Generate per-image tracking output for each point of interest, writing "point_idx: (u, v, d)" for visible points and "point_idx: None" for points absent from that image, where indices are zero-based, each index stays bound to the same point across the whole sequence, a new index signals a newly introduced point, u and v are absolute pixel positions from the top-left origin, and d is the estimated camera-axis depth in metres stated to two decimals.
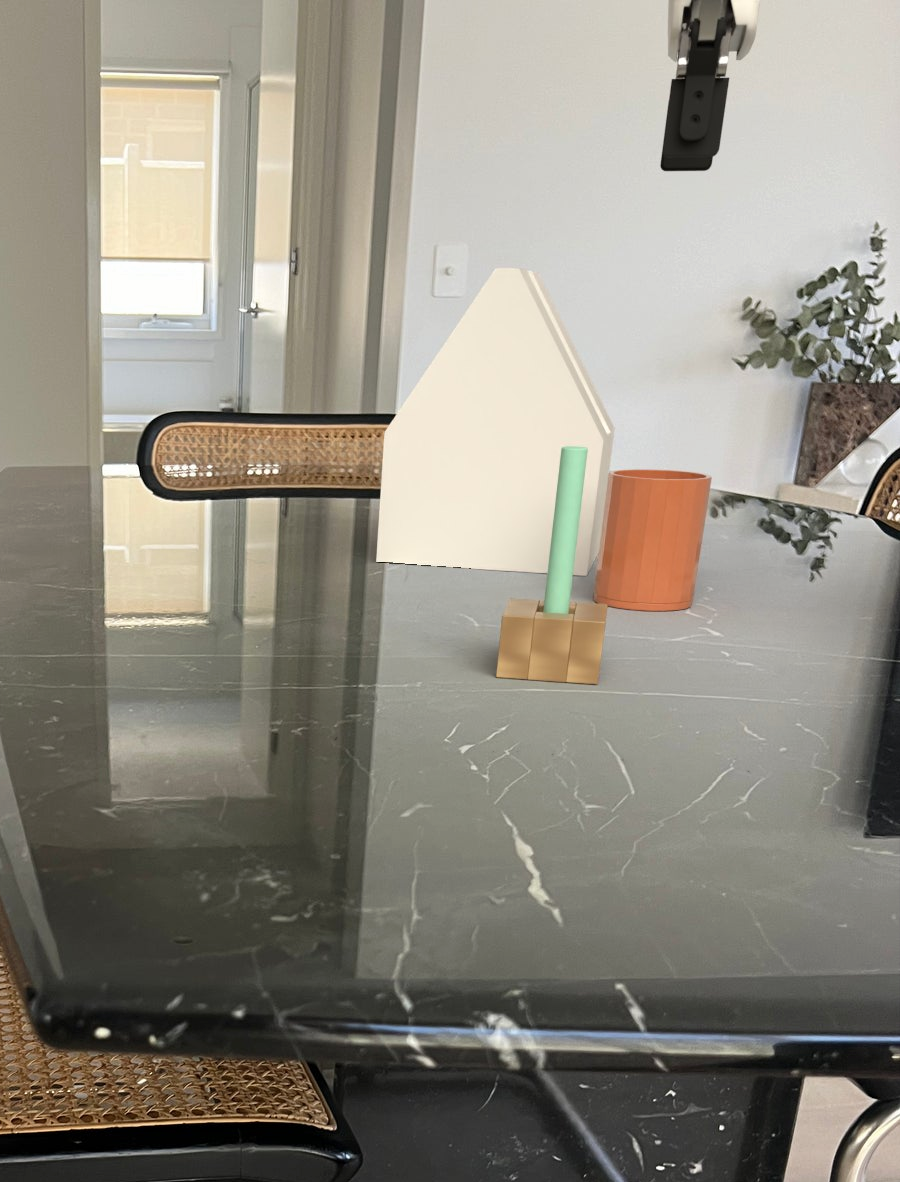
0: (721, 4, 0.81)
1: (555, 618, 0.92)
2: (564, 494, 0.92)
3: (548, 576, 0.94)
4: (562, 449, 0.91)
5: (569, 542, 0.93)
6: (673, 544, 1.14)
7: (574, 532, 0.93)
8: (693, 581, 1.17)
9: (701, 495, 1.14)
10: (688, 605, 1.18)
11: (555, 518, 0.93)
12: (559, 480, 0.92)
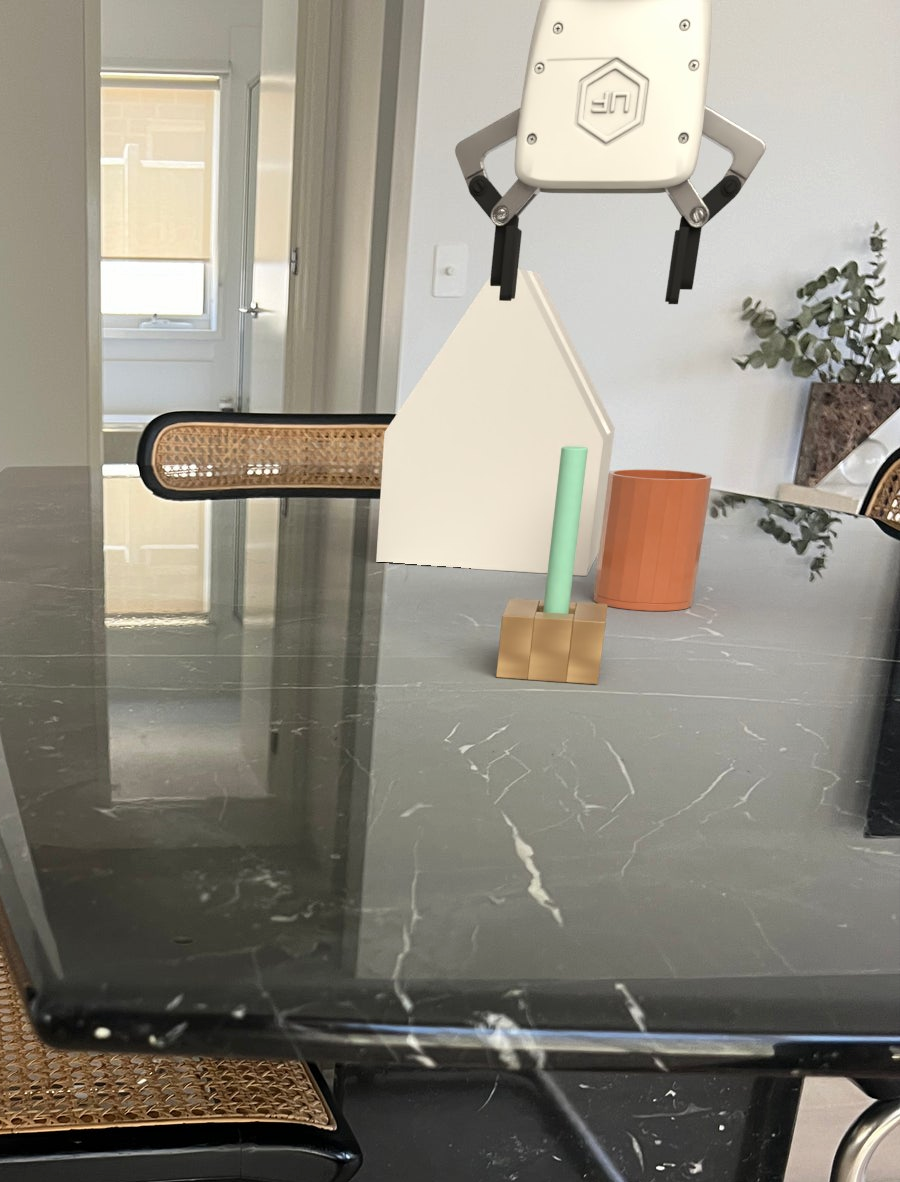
0: (460, 167, 0.86)
1: (555, 618, 0.92)
2: (564, 494, 0.92)
3: (548, 576, 0.94)
4: (562, 449, 0.91)
5: (569, 542, 0.93)
6: (673, 544, 1.14)
7: (574, 532, 0.93)
8: (693, 581, 1.17)
9: (701, 495, 1.14)
10: (688, 605, 1.18)
11: (555, 518, 0.93)
12: (559, 480, 0.92)
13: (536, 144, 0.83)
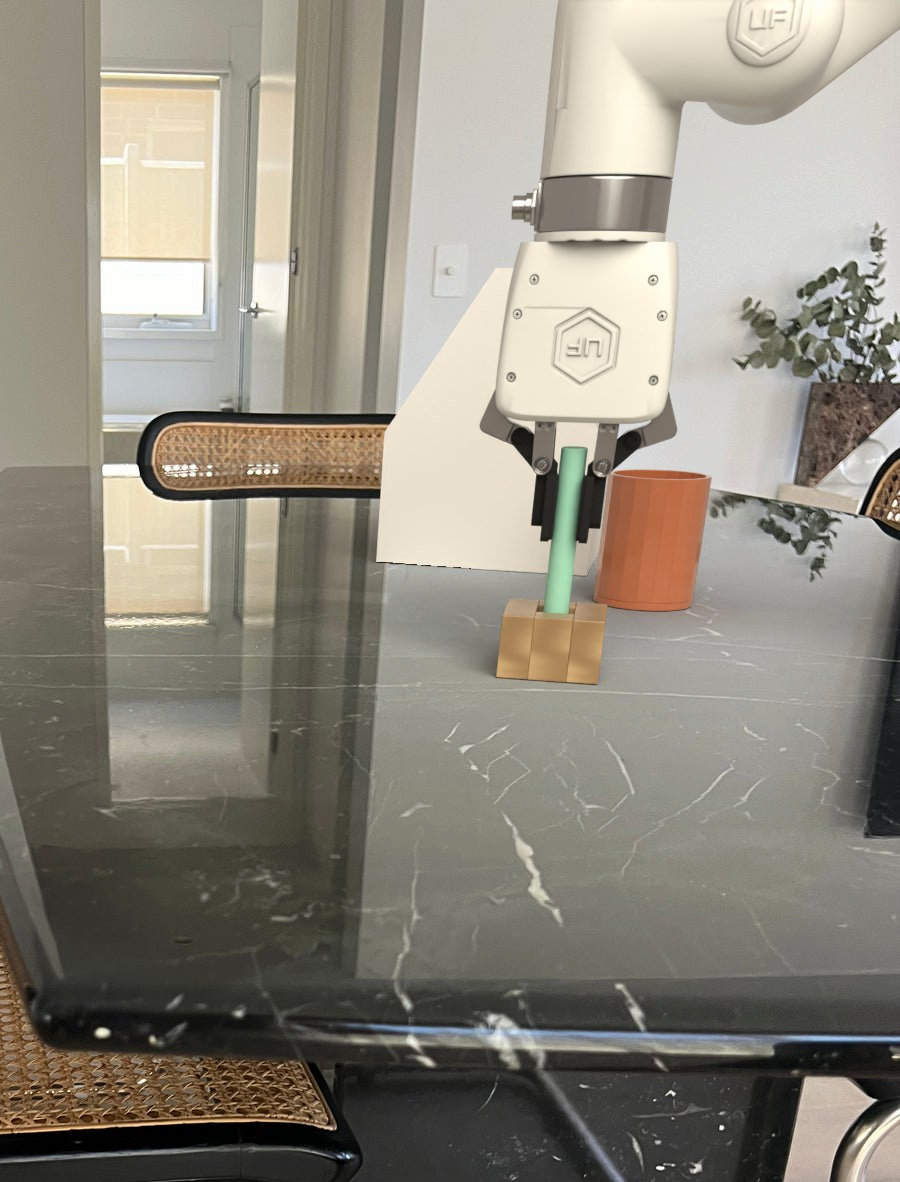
0: None
1: (555, 618, 0.92)
2: (564, 494, 0.92)
3: (548, 576, 0.94)
4: (562, 449, 0.91)
5: (569, 542, 0.93)
6: (673, 544, 1.14)
7: (574, 532, 0.93)
8: (693, 581, 1.17)
9: (701, 495, 1.14)
10: (688, 605, 1.18)
11: (555, 518, 0.93)
12: (559, 480, 0.92)
13: (515, 382, 0.88)
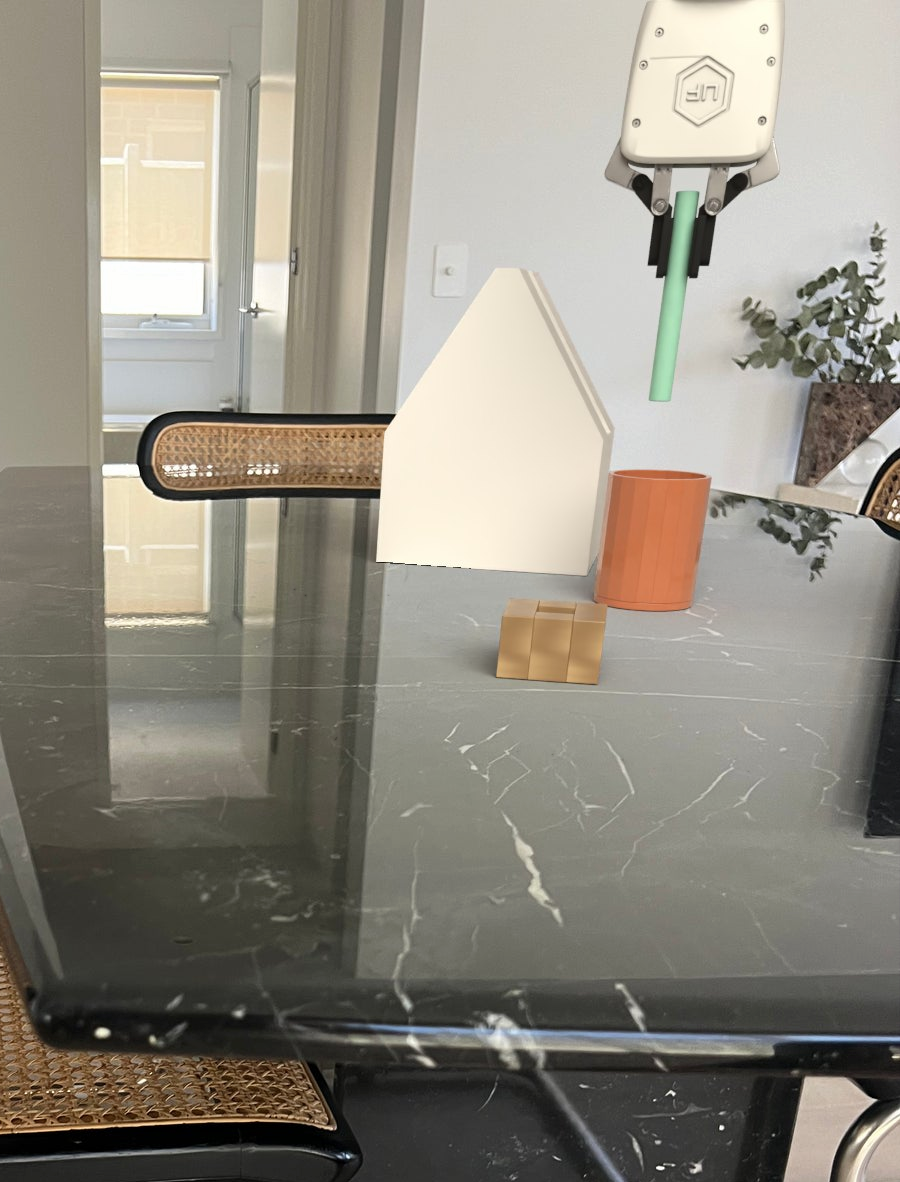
0: (617, 184, 1.05)
1: (555, 618, 0.92)
2: (678, 234, 1.05)
3: (661, 311, 1.07)
4: (677, 193, 1.04)
5: (681, 278, 1.06)
6: (673, 544, 1.14)
7: (686, 269, 1.06)
8: (693, 581, 1.17)
9: (701, 495, 1.14)
10: (688, 605, 1.18)
11: (669, 257, 1.06)
12: None
13: (640, 127, 1.01)
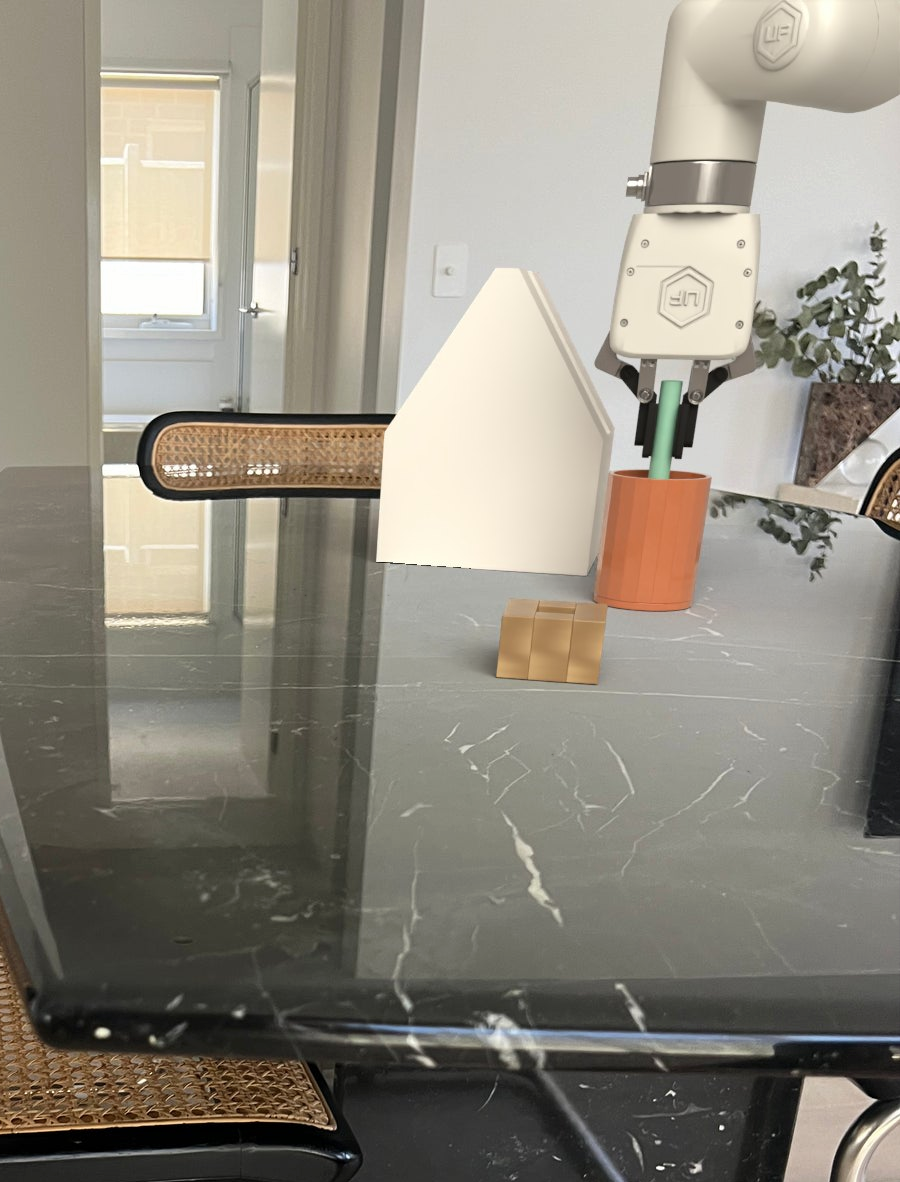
0: (606, 372, 1.14)
1: (555, 618, 0.92)
2: (663, 419, 1.14)
3: None
4: (662, 382, 1.13)
5: (666, 458, 1.15)
6: (673, 544, 1.14)
7: (670, 450, 1.15)
8: (693, 581, 1.17)
9: (701, 495, 1.14)
10: (688, 605, 1.18)
11: (654, 439, 1.15)
12: (659, 407, 1.14)
13: (627, 327, 1.10)
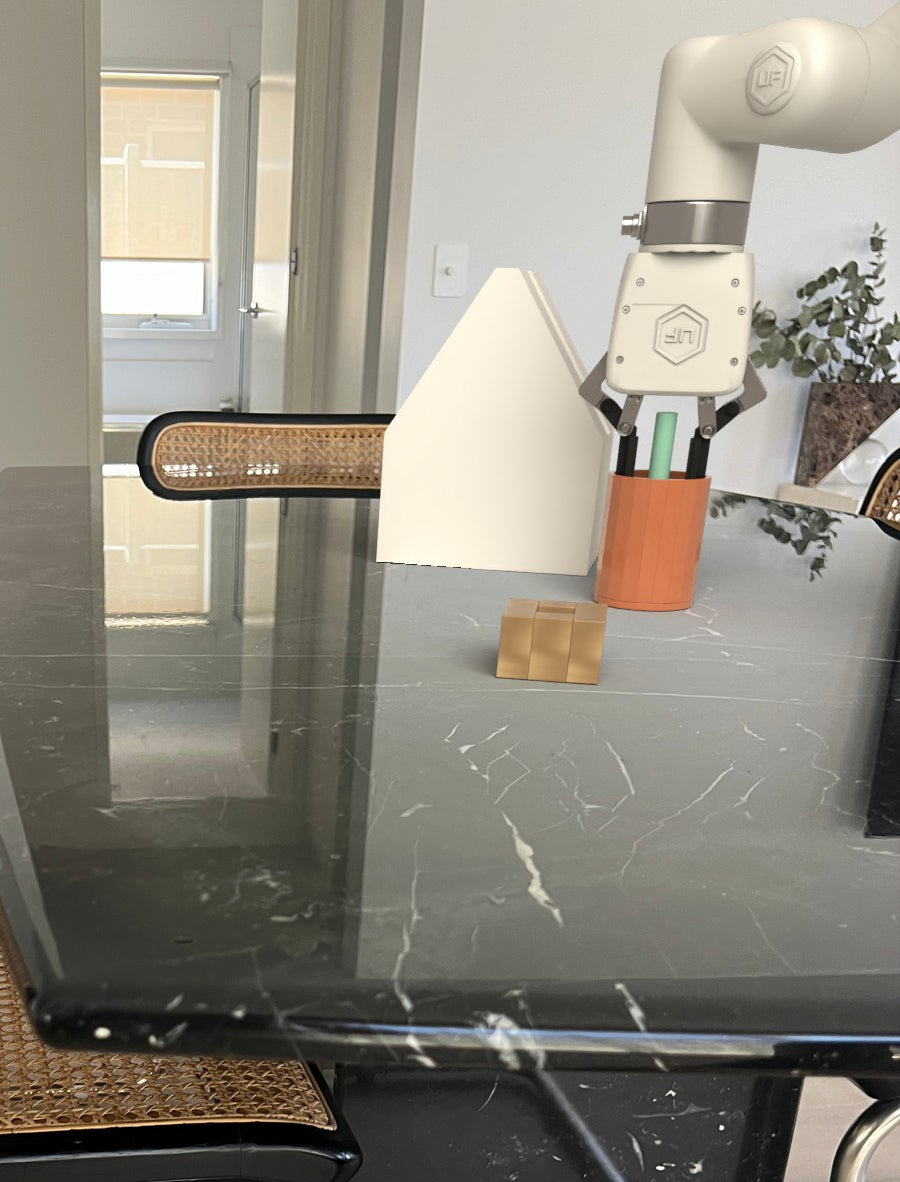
0: (588, 401, 1.15)
1: (555, 618, 0.92)
2: (658, 450, 1.15)
3: None
4: (657, 414, 1.14)
5: None
6: (673, 544, 1.14)
7: None
8: (693, 581, 1.17)
9: (701, 495, 1.14)
10: (688, 605, 1.18)
11: (650, 470, 1.16)
12: (654, 439, 1.15)
13: (623, 363, 1.11)
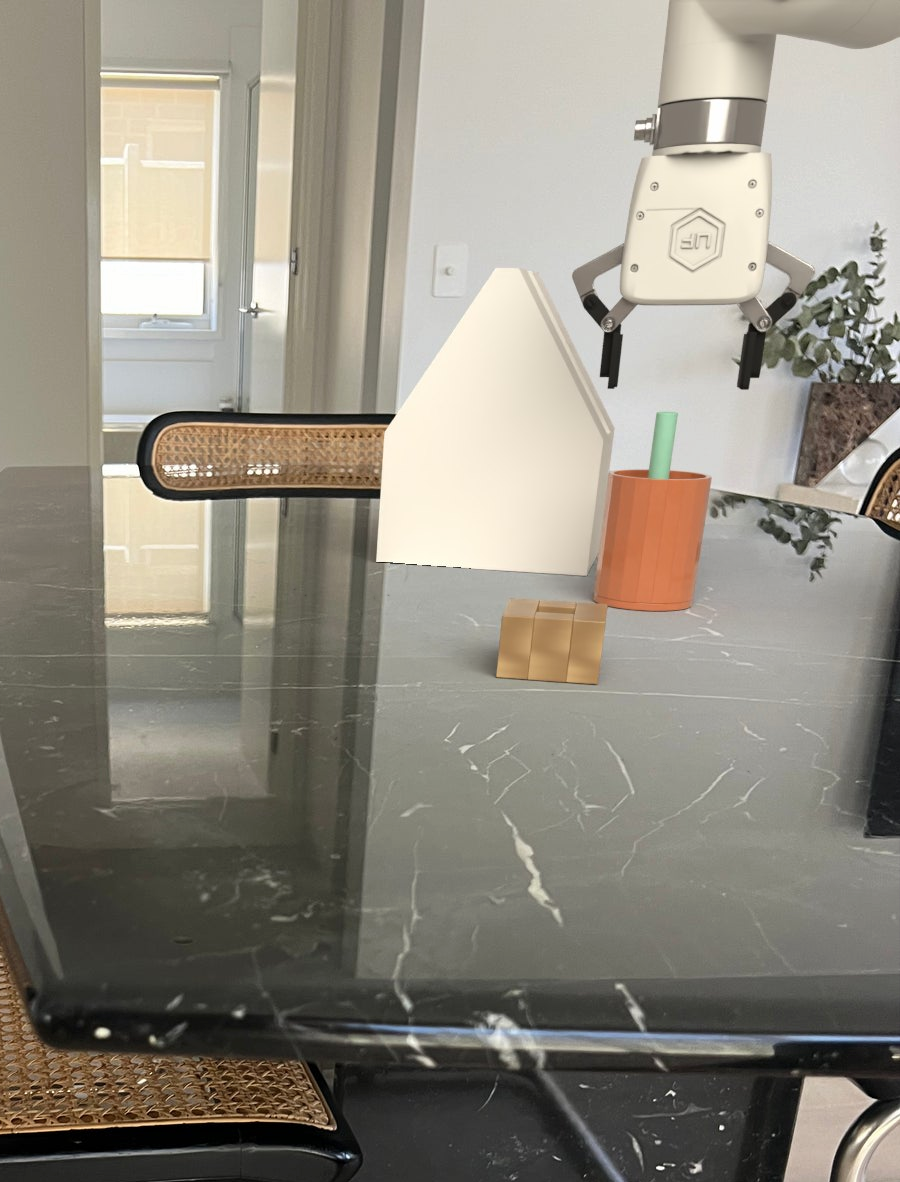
0: (576, 288, 1.12)
1: (555, 618, 0.92)
2: (658, 450, 1.15)
3: None
4: (657, 414, 1.14)
5: None
6: (673, 544, 1.14)
7: None
8: (693, 581, 1.17)
9: (701, 495, 1.14)
10: (688, 605, 1.18)
11: (650, 470, 1.16)
12: (654, 439, 1.15)
13: (638, 272, 1.08)
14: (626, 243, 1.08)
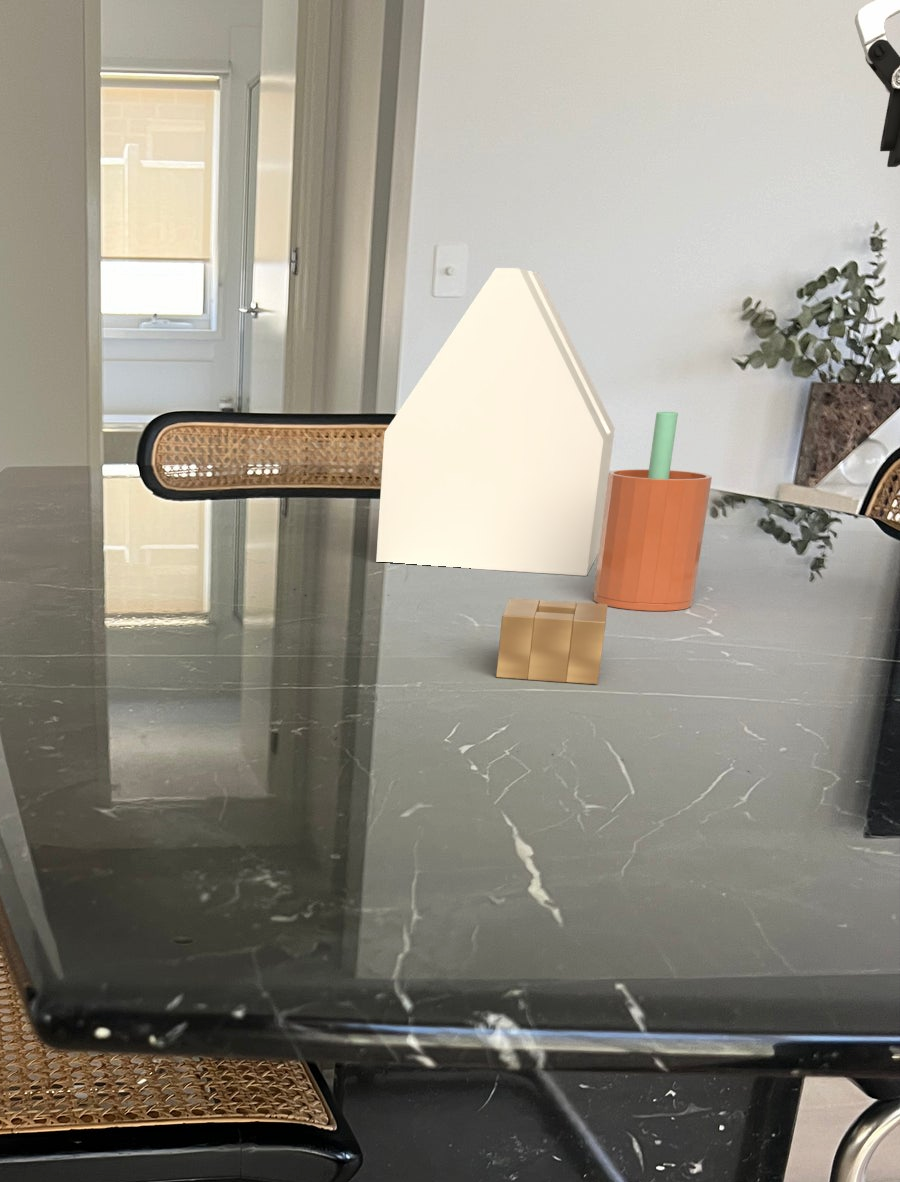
0: (861, 32, 0.89)
1: (555, 618, 0.92)
2: (658, 450, 1.15)
3: None
4: (657, 414, 1.14)
5: None
6: (673, 544, 1.14)
7: None
8: (693, 581, 1.17)
9: (701, 495, 1.14)
10: (688, 605, 1.18)
11: (650, 470, 1.16)
12: (654, 439, 1.15)
13: None
14: None
